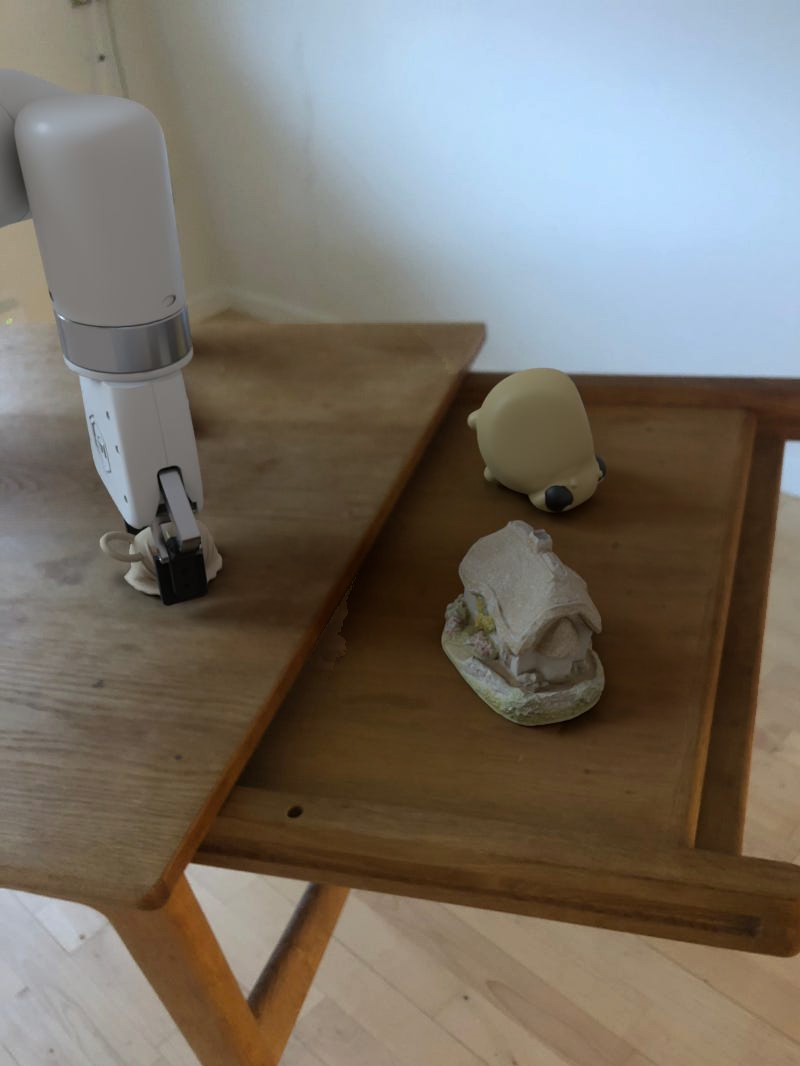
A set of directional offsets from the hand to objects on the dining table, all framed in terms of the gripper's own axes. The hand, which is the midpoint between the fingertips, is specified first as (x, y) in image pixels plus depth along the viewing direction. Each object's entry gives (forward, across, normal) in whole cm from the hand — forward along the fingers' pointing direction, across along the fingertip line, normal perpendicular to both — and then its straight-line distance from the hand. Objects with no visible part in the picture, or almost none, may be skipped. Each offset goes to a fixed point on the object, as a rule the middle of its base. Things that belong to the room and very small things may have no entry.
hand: (167, 567), depth 69 cm
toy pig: (+1, +1, +32) cm, 32 cm away
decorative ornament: (+1, 0, 0) cm, 1 cm away
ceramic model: (+1, +19, +19) cm, 27 cm away
